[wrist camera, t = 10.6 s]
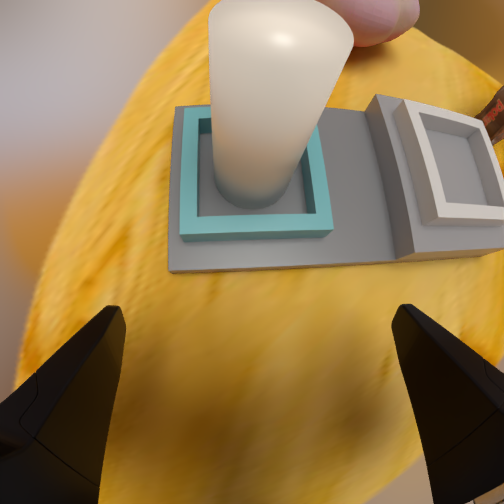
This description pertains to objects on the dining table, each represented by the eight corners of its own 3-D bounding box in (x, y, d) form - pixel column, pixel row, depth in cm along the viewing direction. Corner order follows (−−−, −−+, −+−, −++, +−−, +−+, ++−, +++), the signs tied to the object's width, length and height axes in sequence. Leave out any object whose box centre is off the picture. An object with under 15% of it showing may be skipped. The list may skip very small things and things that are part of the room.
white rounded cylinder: (290, 210, 16) (368, 77, 6) (212, 208, 16) (200, 60, 6) (285, 133, 17) (334, -11, 7) (216, 129, 17) (217, -23, 7)
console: (171, 273, 16) (151, 256, 11) (177, 115, 18) (167, 67, 13) (481, 256, 18) (524, 241, 13) (450, 135, 20) (481, 107, 15)
